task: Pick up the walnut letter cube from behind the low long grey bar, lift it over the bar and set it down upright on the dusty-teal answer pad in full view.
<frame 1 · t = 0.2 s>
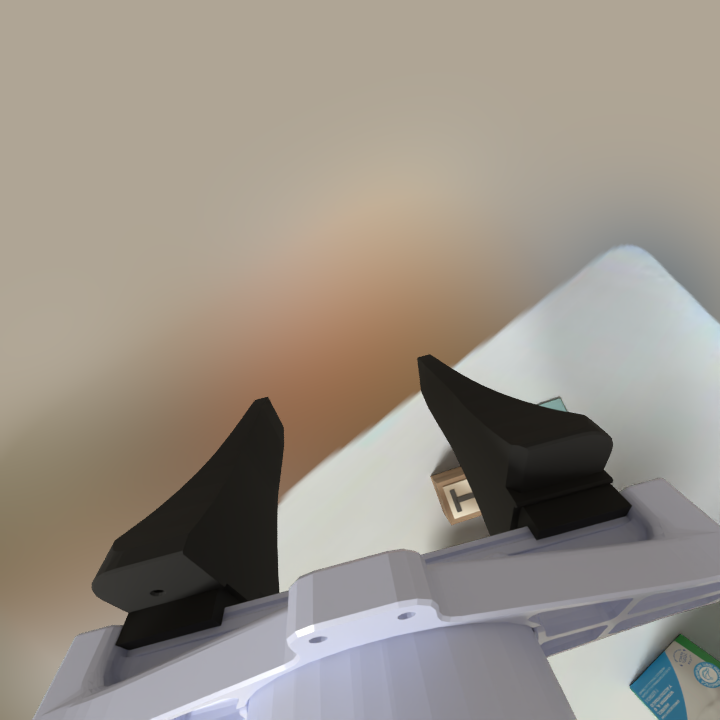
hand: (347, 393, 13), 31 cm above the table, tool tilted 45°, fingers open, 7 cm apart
letter cube: (453, 488, 40), on the table
milk carton: (685, 694, 33), on the table
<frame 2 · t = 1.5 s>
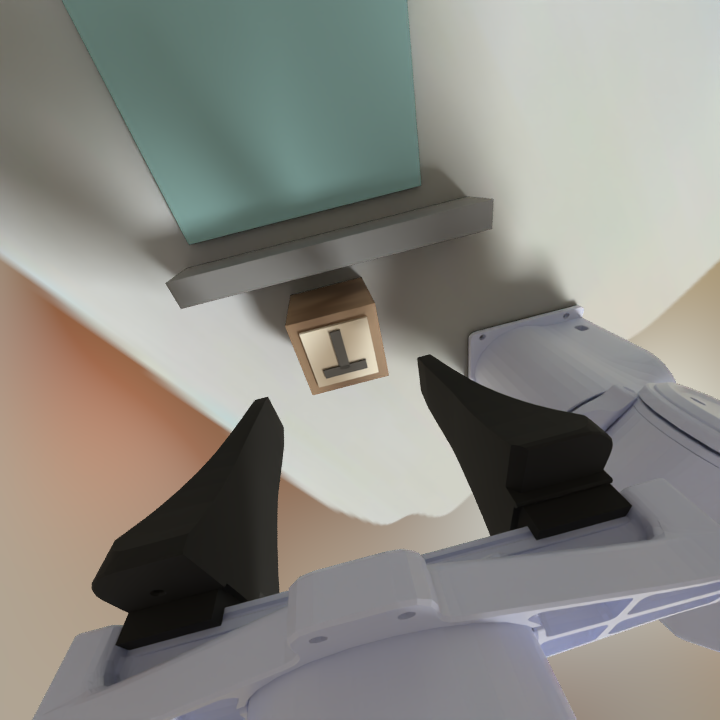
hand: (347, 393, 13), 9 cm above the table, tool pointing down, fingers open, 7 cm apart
letter cube: (335, 318, 21), on the table
answer pad: (266, 77, 14), on the table
long grey bar: (330, 244, 18), on the table
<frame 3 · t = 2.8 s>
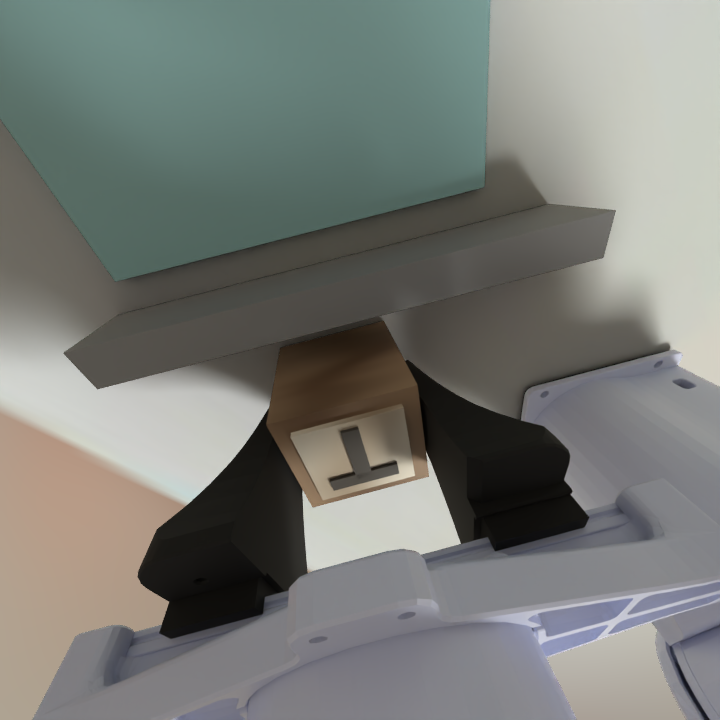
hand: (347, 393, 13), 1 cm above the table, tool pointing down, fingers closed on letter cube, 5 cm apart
letter cube: (344, 375, 15), on the table, touching gripper
long grey bar: (339, 277, 12), on the table
when the fingers open (3 cm above the table, at t = 6.7 s): letter cube drops 1 cm, resting on answer pad.
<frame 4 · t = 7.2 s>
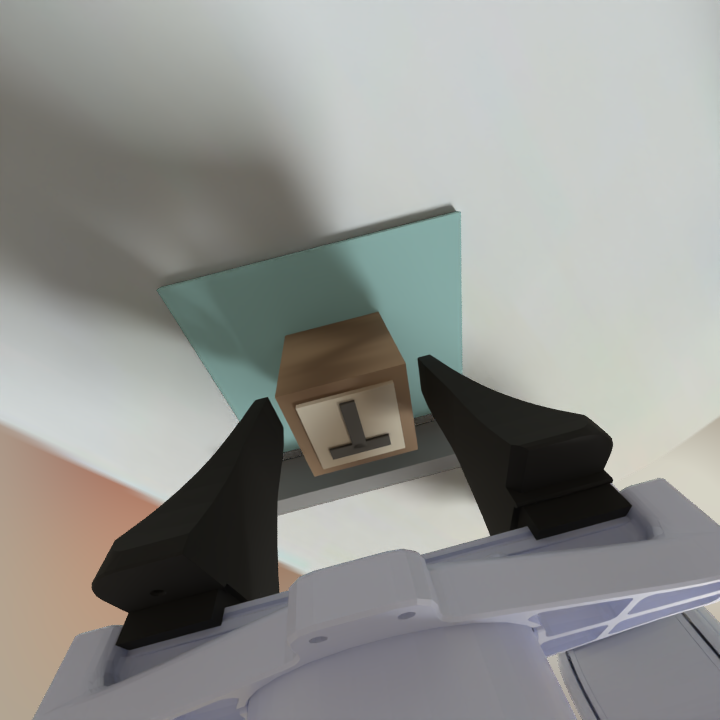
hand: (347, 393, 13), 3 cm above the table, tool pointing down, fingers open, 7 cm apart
letter cube: (343, 362, 16), resting on answer pad
answer pad: (341, 356, 16), on the table
long grey bar: (381, 442, 21), on the table
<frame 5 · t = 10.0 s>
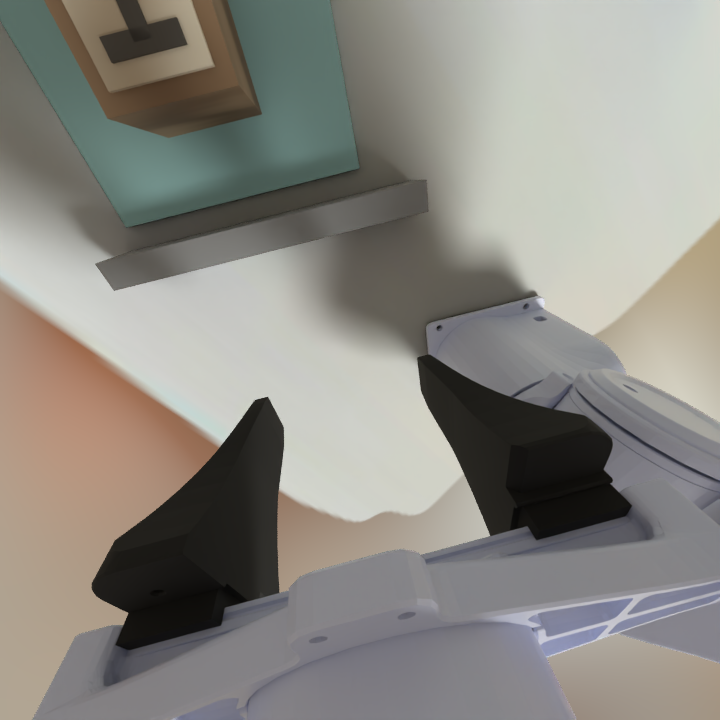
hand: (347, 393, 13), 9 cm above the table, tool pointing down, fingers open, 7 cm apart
letter cube: (189, 58, 13), resting on answer pad
answer pad: (190, 56, 13), on the table
long grey bar: (272, 229, 18), on the table
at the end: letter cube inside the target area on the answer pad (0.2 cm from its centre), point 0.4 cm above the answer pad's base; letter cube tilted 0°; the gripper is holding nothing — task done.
